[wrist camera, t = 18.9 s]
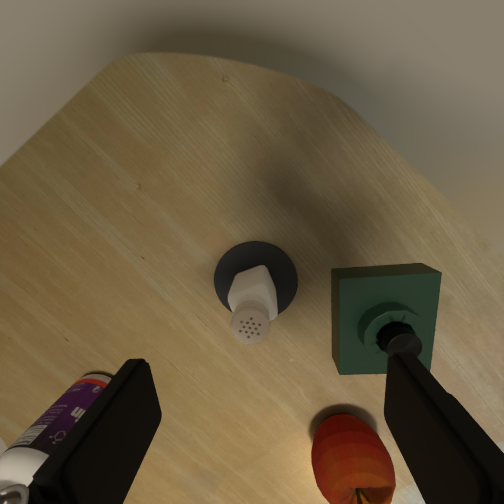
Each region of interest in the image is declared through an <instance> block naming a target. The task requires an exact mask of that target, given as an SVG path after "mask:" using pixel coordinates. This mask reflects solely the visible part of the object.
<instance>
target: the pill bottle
mask: <svg viewBox="0 0 504 504" xmlns="http://www.w3.org/2000/svg"><path fill="white" fill-rule="evenodd" d="M111 379H112V378H110V377H108V376H105V375H101V374H91V375H87V376H84V377H82V378H80V379H79V380H78V381H76V382H75V383H74V384H73V385H72V386H71V387H70V388H69V389H68V390H67V391H66V392H65V393H64V394H63V395H62V396H61V397H60V398H59V399H58V400H57V401H56V402H55V403H54V404H53V405H52V406H51V407H50V408H49V409H48V410H47V411H46V412H45V413H44V414H43V415H42V416H41V417H40V418H39V419H38V420H37V421H36V422H35V423H34V424H32V425H31V426H30V427H29V428H28V429H27V430H26V431H25V432H24V433H23V434H22V435H21V436H20V437H19V438H18V439H17V440H16V441H15V442H14V443H13V444H12V445H11V446H10V447H9V448H8V449H7V450H6V451H5V452H4V453H3V454H2V455H1V456H0V490H2V489H4V488H6V487H8V486H10V485H15V484H24V485H26V486H27V487H28V485H29V484H30V483H31V482H32V480H33V477H32V476H33V475H34V474H35V472H36V471H37V470H38V469H39V467H40V466H41V465H42V464H43V463H44V461H45V460H46V459H47V458H48V456H49V455H50V454H51V453H52V451H53V450H54V449H55V448H56V447H57V445H58V444H59V443H60V442H61V440H62V439H63V438H64V437H65V436H66V434H67V433H68V432H69V431H70V429H71V428H72V427H73V426H74V425H75V423H76V422H77V421H78V420H79V418H80V417H81V416H82V415H83V414H84V412H85V411H86V410H87V409H88V407H89V406H90V405H91V404H92V402H93V401H94V400H95V399H96V398H97V396H98V395H99V394H100V393H101V391H102V390H103V389H104V388H105V387H106V385H107V384H108V383H109V382H110V380H111Z"/></svg>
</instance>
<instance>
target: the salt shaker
mask: <svg viewBox="0 0 504 504" xmlns="http://www.w3.org/2000/svg"><path fill="white" fill-rule="evenodd" d="M228 303H229V305H230V308H231V310H232V312H233V316H232V320H231V323H230V326H231V332H232V334H233V335H234V337H235V338H236V339H237V340H238V341H240V342H242V343H245V344H247V345H249V344H258V343H260V342H261V341H263V340H264V339H266V337H267V335H268V333H269V331H270V321H272V320H274V319H275V318H276V317H277V316H278V309H277V297H276V288H275V286H274V284H273V281H272V279H271V276H270V274H269V272H268V269H267V268H266V267H265V266H264V265H259V266H257V267H254V268H251V269H249V270H246V271H243V272H241V273H238V274H237V275H236V276H235V278H234V280H233V283H232V286H231V288H230V291H229V294H228Z"/></svg>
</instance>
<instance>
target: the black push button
mask: <svg viewBox="0 0 504 504" xmlns="http://www.w3.org/2000/svg"><path fill="white" fill-rule="evenodd" d="M378 342H379V343H380V345H381V346H382V348H383V349H384V350H385V352H386V353H387V354H388V356H392V354H393V352H409V351H410V352H413V353H414V354H415V355H416V357H418V356H419V355H420V354H421V352H422V348H423V346H422V342H421V340H420V339H419V338H418V337H417V336H416V335H415V334H414V333H413V332H412V331H411V330H410V329H409V328H408V327H407V326H406V325H405V324H403V323H400V322H391V323H388V324H386V325H384V326H383V327H382V328H381V329H380V330H379V332H378Z"/></svg>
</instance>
